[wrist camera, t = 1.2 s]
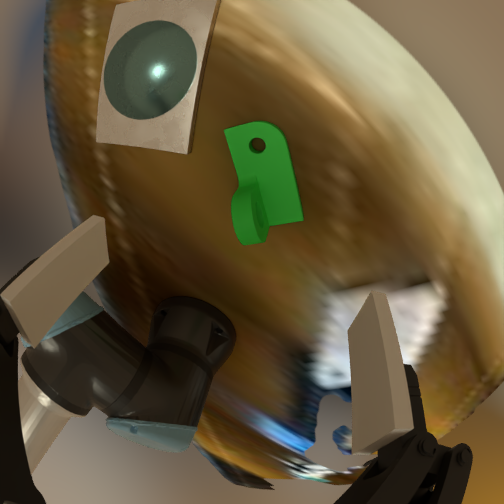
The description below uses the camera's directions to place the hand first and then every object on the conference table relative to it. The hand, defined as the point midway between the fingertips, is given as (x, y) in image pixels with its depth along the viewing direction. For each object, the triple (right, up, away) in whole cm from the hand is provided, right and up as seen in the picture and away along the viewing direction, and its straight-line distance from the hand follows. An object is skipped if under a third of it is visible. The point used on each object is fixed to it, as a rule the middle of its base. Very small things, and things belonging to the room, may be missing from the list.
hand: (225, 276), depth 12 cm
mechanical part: (+3, +10, +18) cm, 21 cm away
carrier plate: (-11, +23, +13) cm, 28 cm away
